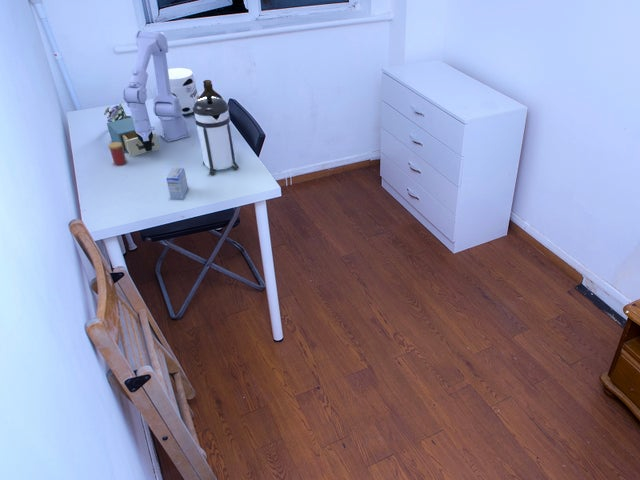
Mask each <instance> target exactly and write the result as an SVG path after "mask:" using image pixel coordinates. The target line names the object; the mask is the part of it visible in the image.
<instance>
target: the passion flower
mask: <svg viewBox="0 0 640 480" xmlns="http://www.w3.org/2000/svg"><path fill="white" fill-rule="evenodd" d="M107 114H108V115H107ZM103 115H104V116H106V115H107V117H106V118H107V123H109V122H113V121H118V120H122V119H126V118H130V117H132V115H127V114H126V112H125V110H124V107H123V106H122V103H119V104H118V105H115V106H113V107H112V108H110V106H108V107H107V108H106V109H105V111H104V113H103Z"/></svg>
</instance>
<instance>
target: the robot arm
mask: <svg viewBox="0 0 640 480" xmlns="http://www.w3.org/2000/svg"><path fill="white" fill-rule="evenodd" d="M135 45H136V47H137V57H136V64H135V68H133V69H131V73H130V75H129V76H130V77H129V81H128V85H127V87H125V88H124V90H123V94H122V96H123V101H124V102H125V103H126V106H127V108H129V112H130V114H131V115H132V116H131V115H130V116H131V117H132V118H133V122H134V126H135V132H136V133H137V137H138V139H139V140H140V141H141V142H142V144H143V146H144V148H145V150H146V151H149V152H152V138H153V133H154V132H153V131H155V130H156V127H155V126H152V125H151V121H150V116H149V112H148V109H147V104H146V102H147V99H148V95H147V91H148V90H147V88H146V87H147V83H148V78H149V74H148V72H147V69H148V67H149V63H150V60H151V57H152V61H153V68H154V75H155V82H156V90H157V95H156V96H155V97H154V98H153V99H152V100H153V101H152V102H153V105H152V111H153V113H154V116H156V117H157V118H158V119H159V120H160V125H161V128H162V134H160V137H162V138H163V139H164V140H166V142H169V143H170V142H173V141H177V140H180V139H185V138H189V137H190V134H189V131H188V126H187V121H186V118H185V117H184V115H182V114H181V106H180V103H179V99H178V98H177V97H175V96H174V95H172V94H171V88H170V81H169V73H168V69H169V66H168V59H167V53H169V45H168V38H167V35H166V34H165V33H164V32H163V31H146V30H145V31H144V30H138V31H137V32H136V33H135Z"/></svg>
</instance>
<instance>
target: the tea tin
mask: <svg viewBox="0 0 640 480" xmlns="http://www.w3.org/2000/svg"><path fill="white" fill-rule="evenodd" d="M108 148H109V150H110V154H111V158H112V160H113V164H114V166H117V167H119V166H124V165H126V164H127V158H126V155H125V153H124V151H123V148H122V143H121V142H111V143H109V144H108Z"/></svg>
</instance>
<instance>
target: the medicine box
mask: <svg viewBox="0 0 640 480" xmlns="http://www.w3.org/2000/svg"><path fill="white" fill-rule="evenodd" d="M166 183H167V189H168V193H169V197H170V199H171V200H184V198H185V196H186V194H187V191H188V189H189V184H188V180H187V175H186V170H185V168H184V167H171V169H170V171H169V173H168V175H167V177H166Z"/></svg>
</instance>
